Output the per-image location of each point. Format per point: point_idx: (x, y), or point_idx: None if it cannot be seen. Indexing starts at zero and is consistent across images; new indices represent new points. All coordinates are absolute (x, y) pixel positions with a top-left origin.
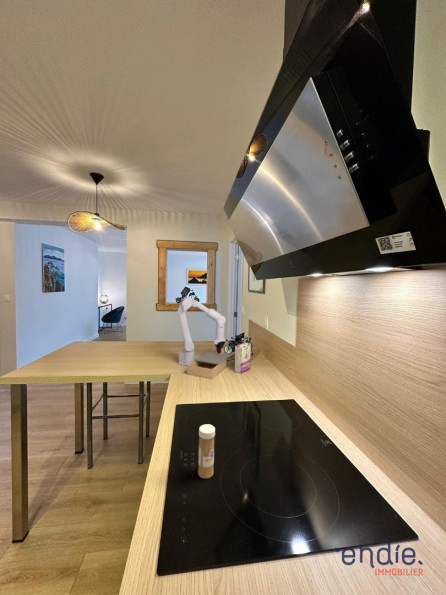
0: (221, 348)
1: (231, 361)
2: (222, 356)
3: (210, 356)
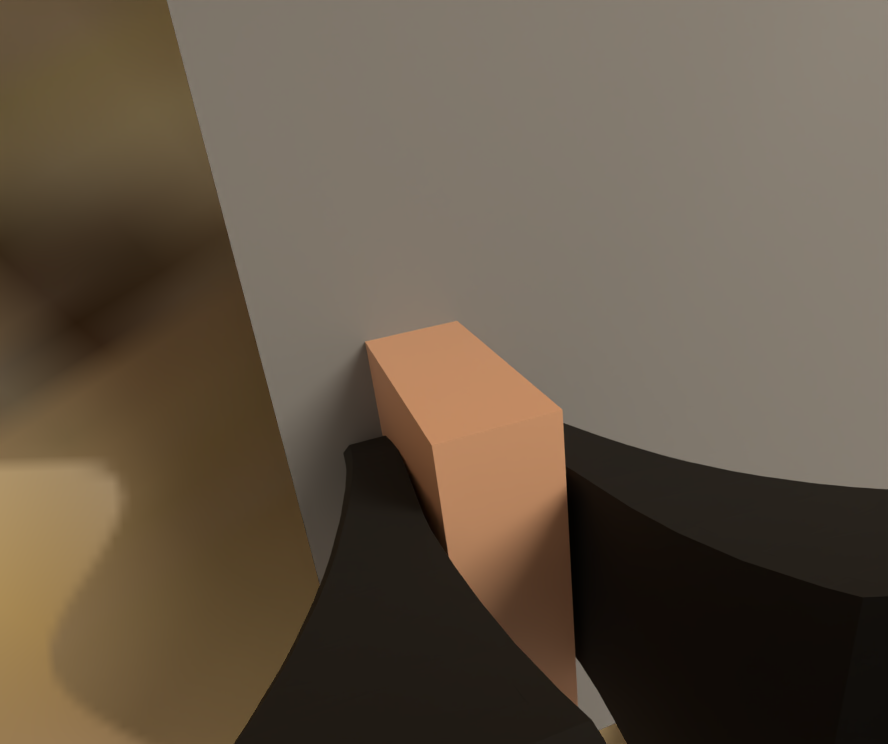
0: (540, 494)
1: (12, 100)
2: (746, 129)
3: (858, 434)
